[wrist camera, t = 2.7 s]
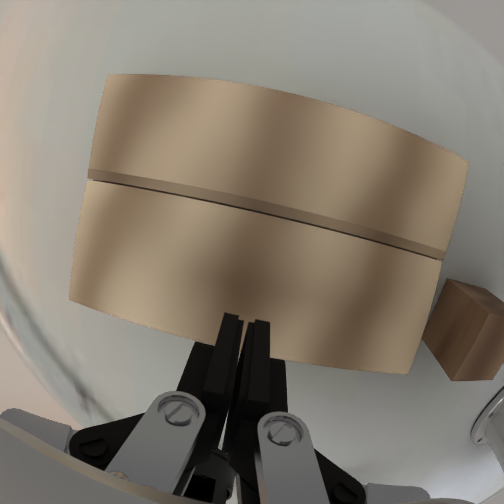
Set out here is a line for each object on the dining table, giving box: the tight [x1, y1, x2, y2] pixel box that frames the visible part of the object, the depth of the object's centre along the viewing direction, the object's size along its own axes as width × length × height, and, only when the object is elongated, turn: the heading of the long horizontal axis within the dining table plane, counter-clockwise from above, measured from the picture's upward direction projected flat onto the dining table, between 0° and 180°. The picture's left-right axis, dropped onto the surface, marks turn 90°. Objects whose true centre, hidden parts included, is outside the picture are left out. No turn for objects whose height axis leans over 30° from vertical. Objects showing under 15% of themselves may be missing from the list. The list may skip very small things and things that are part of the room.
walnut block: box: [422, 278, 504, 381], centre depth 14 cm, size 4×4×5 cm
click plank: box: [69, 180, 442, 374], centre depth 15 cm, size 20×7×2 cm, turn 78°
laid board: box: [87, 74, 469, 260], centre depth 13 cm, size 20×6×2 cm, turn 78°
